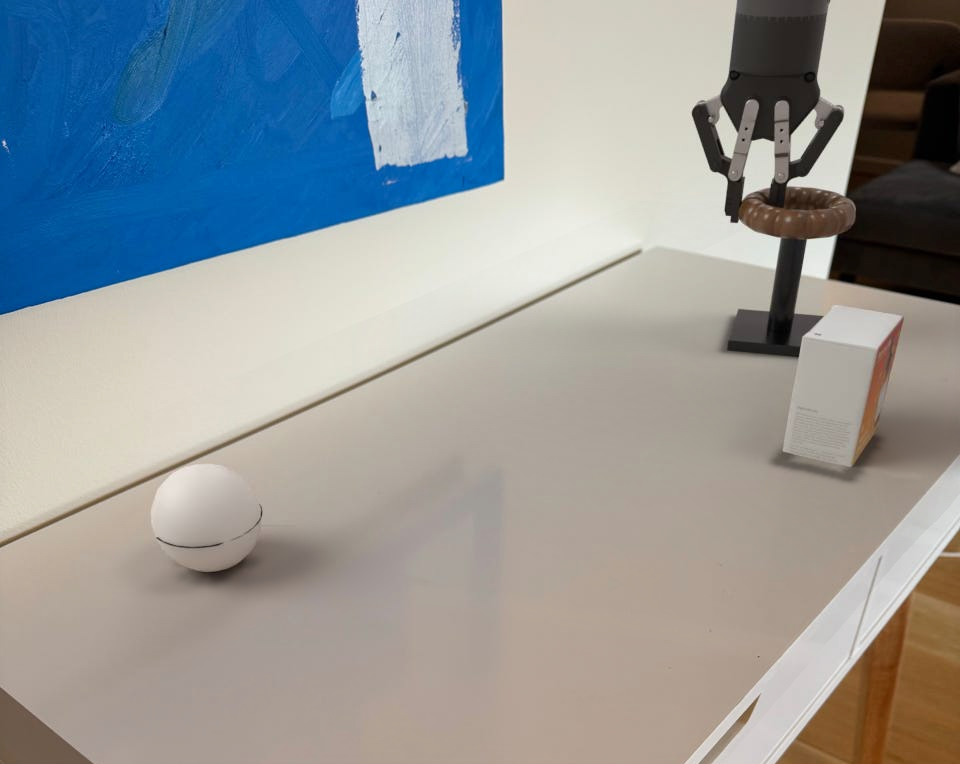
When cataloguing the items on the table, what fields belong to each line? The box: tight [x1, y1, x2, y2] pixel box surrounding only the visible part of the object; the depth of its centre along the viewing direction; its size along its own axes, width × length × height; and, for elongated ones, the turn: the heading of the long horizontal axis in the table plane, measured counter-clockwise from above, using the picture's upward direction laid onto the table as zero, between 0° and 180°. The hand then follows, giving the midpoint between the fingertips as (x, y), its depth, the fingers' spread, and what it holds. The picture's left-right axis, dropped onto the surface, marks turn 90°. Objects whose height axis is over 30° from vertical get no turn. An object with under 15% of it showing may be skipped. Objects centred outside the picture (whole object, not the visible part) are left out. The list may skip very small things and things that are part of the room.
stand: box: [726, 208, 825, 358], centre depth 97 cm, size 9×9×12 cm
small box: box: [782, 304, 905, 468], centre depth 79 cm, size 8×6×10 cm
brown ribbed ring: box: [738, 185, 857, 240], centre depth 93 cm, size 10×10×2 cm
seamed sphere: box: [150, 463, 295, 573], centre depth 68 cm, size 10×7×7 cm
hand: (752, 221), depth 95 cm, fingers closed on brown ribbed ring, 2 cm apart
